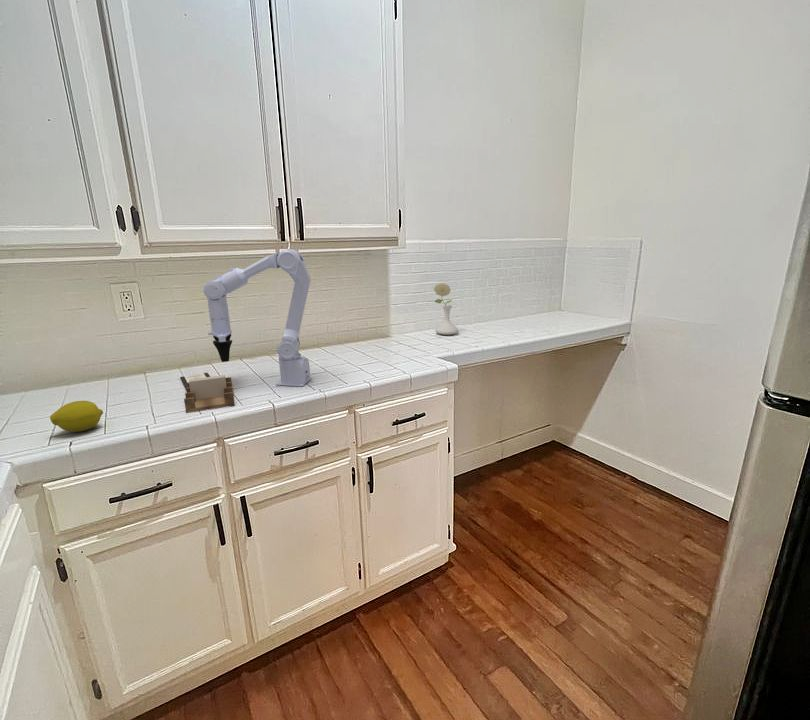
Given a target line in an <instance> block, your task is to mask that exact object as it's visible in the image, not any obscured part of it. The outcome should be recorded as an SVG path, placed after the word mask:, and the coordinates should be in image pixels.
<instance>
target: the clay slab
mask: <svg viewBox="0 0 810 720" xmlns="http://www.w3.org/2000/svg"><path fill="white" fill-rule="evenodd" d="M225 378H226V375H225V374H221V375H214V376H210V377H205V378H197V379H189V386H190V392H195V398H196V400H200V399H208V398H215V397H222V396H224V388H226V387H227V386H226V379H225Z"/></svg>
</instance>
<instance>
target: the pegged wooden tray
mask: <svg viewBox="0 0 810 720" xmlns="http://www.w3.org/2000/svg"><path fill="white" fill-rule="evenodd" d="M225 379H226V386H227V387H226V388H224V396H222V397H215V398H208V399H200V400H196V398H195V392H190V386H189V383H187V386H188V387H187V388H186V389H185V391H186V392H185V393H184V395H185V398H184V399H183V401H184V408H185V413H186V414H188V413H193V412H201V411H205V410H207V409H208V410H213V409H220V408H221V409H222V408H228V407H234V406H235V405H236V404H235V397H234V387H233V381H232V376H230V377H229V376H228V377H225Z"/></svg>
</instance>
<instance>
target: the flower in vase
mask: <svg viewBox="0 0 810 720" xmlns="http://www.w3.org/2000/svg"><path fill="white" fill-rule="evenodd" d="M433 291H434V292H435V294H436V295H438V296H441V297H444V296H449V295H450V292H451V291H452V290H451V287H450V286H449V284H447V283H445V282H444V283H443V282H438V284H436V285H434V288H433ZM452 300H453V298H452V299H448V300H446V301H445V302H444V300H443V298H441V299H440V298H437V299H435V300H434V303H437V304H441V303H442V302H443V305H442V306H441V307H442V309H443V312H444V321H443V322H441V324H438V326H437V327H436V328H435V331H434V332H435V333H437V334H439V335H446V336H450V335H455V334H457V333H459V329H458V327H457V325H455V324H453V323H452V322H451V321H450V313H451V310H452V308H453V305H447V304H449V303H451V301H452Z"/></svg>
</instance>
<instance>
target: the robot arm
mask: <svg viewBox="0 0 810 720" xmlns="http://www.w3.org/2000/svg"><path fill="white" fill-rule="evenodd" d="M305 261H306V260H305V258H304V257H303V256H302V254H301V253H300V252H299V251H298V250H296V249H294V248H288V249H283V250H281V251H279V252H275V253H272V254H270V255H269V254H268V255H267V256H265V257H263V258H261V259H260V260H258V261H256V262H254V263H252V264H251V265H249V266H247V267H245V268H243V269H242V268H239V267H235V268H234V267H231V268H229V269H228V271H227V272H226V273H224V274H222V275H216V276H215V279H214V280H209V281H208V282H206V283H205V285H204V286H203V293H204V296H205V297H206V298H207V308H208V313H209V321H210V326H211V327H210V328H211V331H208V332H207V335H208V336H212V338H213V339H214V340H212V344H213V346H215V348H216V350H217V352H218V355H219V358H220V361H221V363H226V362H230V350H231V345H232V343H233V339H231V338H232V333H233V332H232V331H233V330H231V321H230V315H229V312H230V311H229V306H228V305H229V304H228V301H227V294H231V293H233V292H234V291H236V290H238V289H240V288H243V287H244V286H247V284H248V282H249V279H251V278H252V277H255V276H256V275H259V274H260V273H262V272H265V271H266V270H269V269H275V270H276V269H277V270H278V269H281V270H283V271H284V272H285V273H287V274H288V275H289V276H290V278H291V279H292V281H293V282H294V283H293V289H292V295H291V298H290V302H289V303H290V305H289V308H288V312H287V317H286V318H287V319H286V322H285V323H286V324H285V328H284V331H283V335H282V339H281V341H280V342H279V343H278V345H277V347H276V353H277V354H278V363H279V364H278V365H279V373H280V380H279V381H278V382H277V383H276V384H275V385H276V386H288V387H290V386H291V387H303V386H305V385H306V384H307V383H309V381H310V380H312V377H311V371H310V370H311V368H310V367H311V366H310V360H309V359H308V358H307V357H303V356H302V355H301V353H300V352H299V351H298V350H299V349H300V345H301V341H300V331H301V326H302V320H303V316H304V311H305V307H306V302H307V299H308V293H309V289H310V286H311V285H310V284H311V275H310V272H309V270H308V267H307V264H306V262H305Z"/></svg>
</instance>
